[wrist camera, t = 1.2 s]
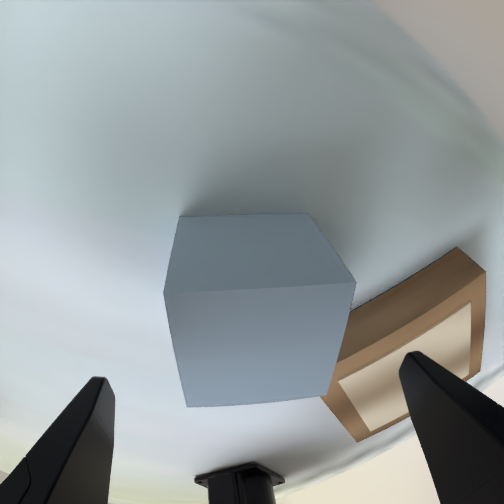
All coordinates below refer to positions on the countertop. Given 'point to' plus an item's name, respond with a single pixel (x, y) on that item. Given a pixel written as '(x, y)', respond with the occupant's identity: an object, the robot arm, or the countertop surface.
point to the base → (408, 341)
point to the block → (255, 308)
